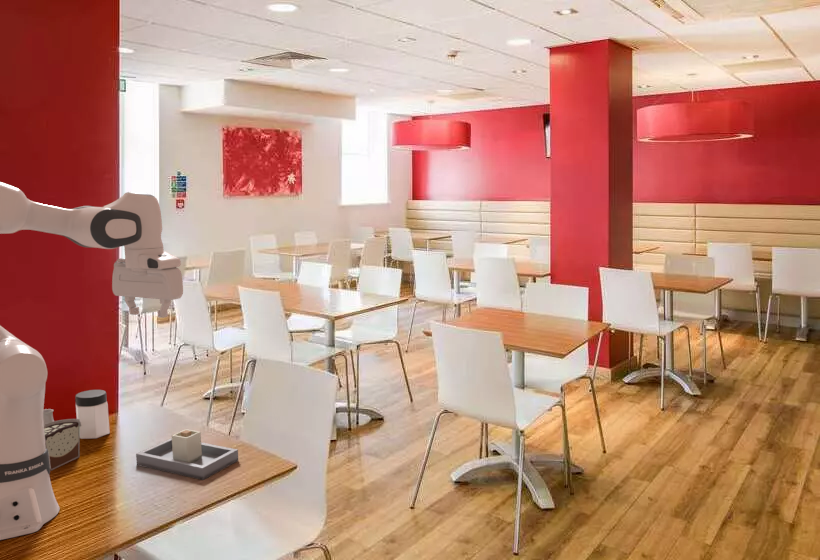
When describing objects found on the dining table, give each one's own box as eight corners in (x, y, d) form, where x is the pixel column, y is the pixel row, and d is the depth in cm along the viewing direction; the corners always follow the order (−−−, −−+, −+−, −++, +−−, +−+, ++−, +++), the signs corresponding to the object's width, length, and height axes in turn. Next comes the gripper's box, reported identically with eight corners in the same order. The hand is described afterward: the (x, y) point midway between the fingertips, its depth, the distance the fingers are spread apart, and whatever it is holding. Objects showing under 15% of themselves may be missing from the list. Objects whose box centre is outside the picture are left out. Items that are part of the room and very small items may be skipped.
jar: (97, 426, 206) (94, 387, 204) (116, 431, 202) (113, 391, 201) (70, 436, 198) (67, 396, 196) (89, 441, 194) (86, 399, 193)
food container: (65, 452, 187) (62, 416, 185) (83, 454, 185) (80, 418, 183) (26, 469, 175) (23, 431, 174) (45, 473, 173) (42, 434, 172)
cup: (188, 464, 175) (186, 436, 174) (173, 461, 177) (171, 433, 176) (202, 457, 179) (200, 430, 178) (187, 454, 182) (185, 427, 181)
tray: (203, 480, 168) (202, 468, 167) (136, 464, 177) (136, 453, 177) (238, 460, 179) (237, 449, 179) (174, 447, 189) (173, 436, 189)
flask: (51, 451, 187) (48, 415, 186) (28, 449, 189) (25, 414, 187) (69, 441, 194) (67, 407, 193) (47, 440, 196) (44, 405, 194)
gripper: (103, 259, 170) (107, 314, 172) (166, 262, 161) (169, 321, 163) (124, 256, 175) (128, 310, 177) (185, 259, 167) (189, 316, 168)
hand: (148, 315), depth 170 cm, fingers open, 8 cm apart
